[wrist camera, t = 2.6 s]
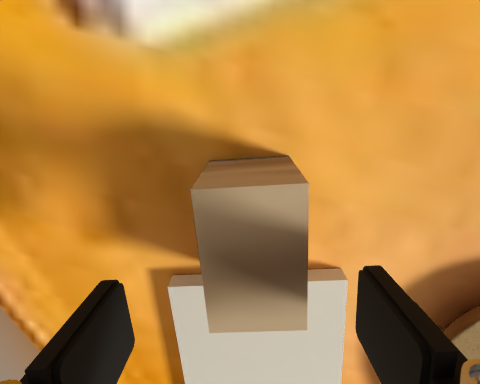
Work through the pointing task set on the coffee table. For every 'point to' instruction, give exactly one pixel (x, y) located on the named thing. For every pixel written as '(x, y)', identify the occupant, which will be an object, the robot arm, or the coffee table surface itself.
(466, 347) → the plant saucer
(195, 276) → the board
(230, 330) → the block
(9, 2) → the coffee table surface
